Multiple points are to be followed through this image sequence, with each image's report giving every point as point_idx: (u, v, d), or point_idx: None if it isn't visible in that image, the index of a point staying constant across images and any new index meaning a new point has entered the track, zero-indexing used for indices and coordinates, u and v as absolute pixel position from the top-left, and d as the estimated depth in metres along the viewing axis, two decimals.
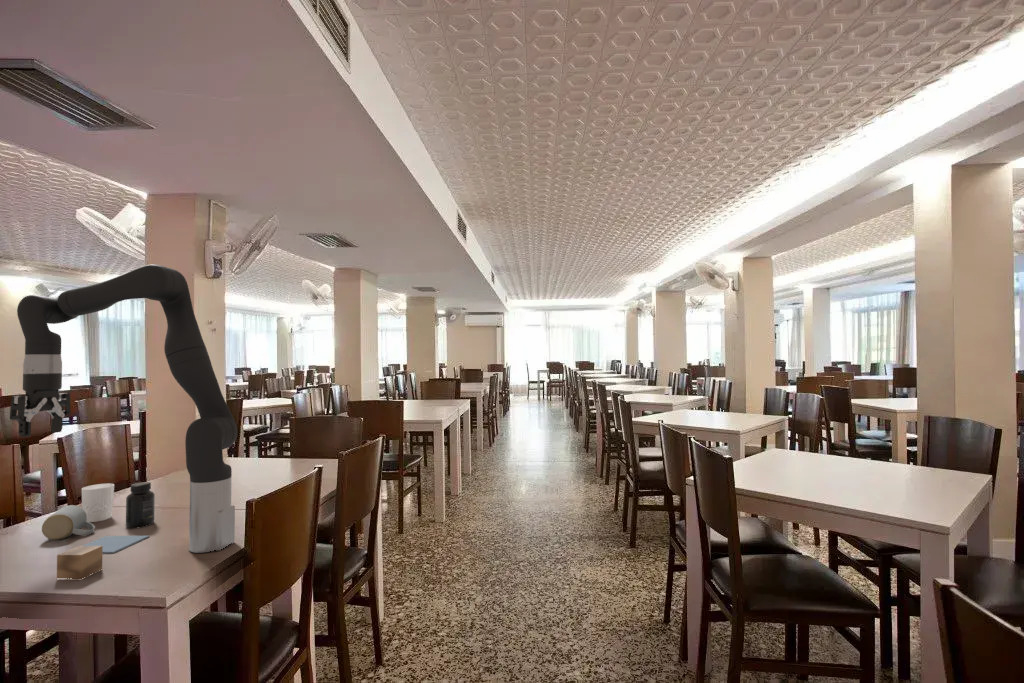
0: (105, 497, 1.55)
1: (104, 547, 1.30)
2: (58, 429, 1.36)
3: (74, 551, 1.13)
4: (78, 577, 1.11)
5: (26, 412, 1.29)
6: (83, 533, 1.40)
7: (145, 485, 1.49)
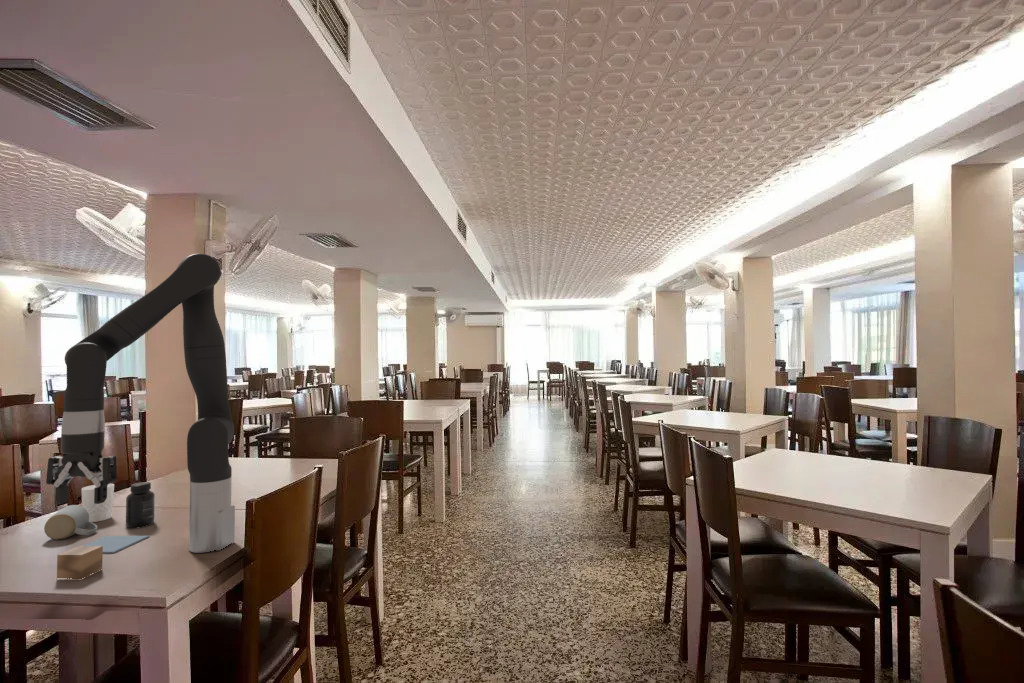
0: None
1: (104, 547, 1.30)
2: (67, 498, 1.15)
3: (74, 551, 1.13)
4: (78, 577, 1.11)
5: (97, 476, 1.14)
6: (85, 533, 1.40)
7: (145, 485, 1.49)
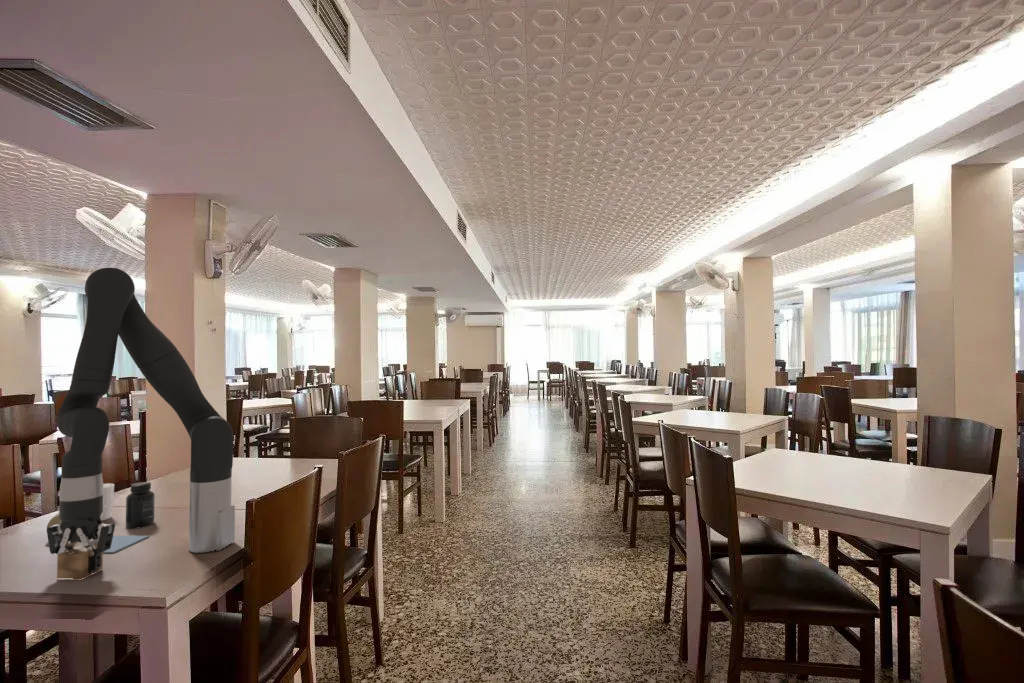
0: (105, 497, 1.55)
1: None
2: None
3: (74, 551, 1.13)
4: (78, 577, 1.11)
5: (93, 543, 1.14)
6: None
7: (145, 485, 1.49)
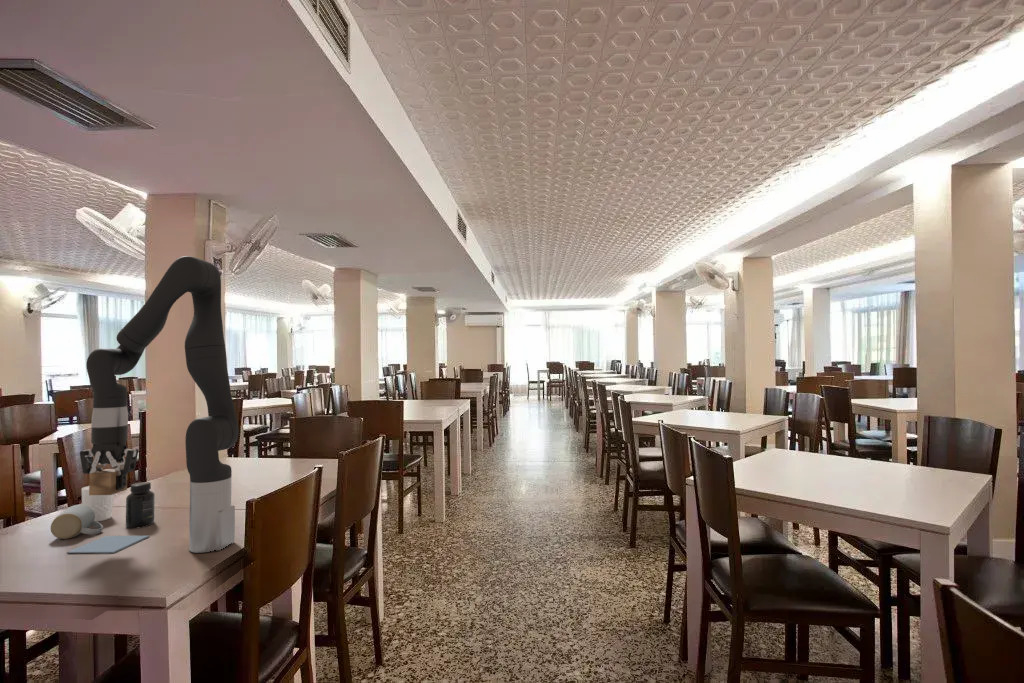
0: (105, 497, 1.55)
1: (104, 547, 1.30)
2: None
3: (104, 471, 1.32)
4: (108, 492, 1.30)
5: (119, 465, 1.33)
6: (91, 532, 1.41)
7: (145, 485, 1.49)
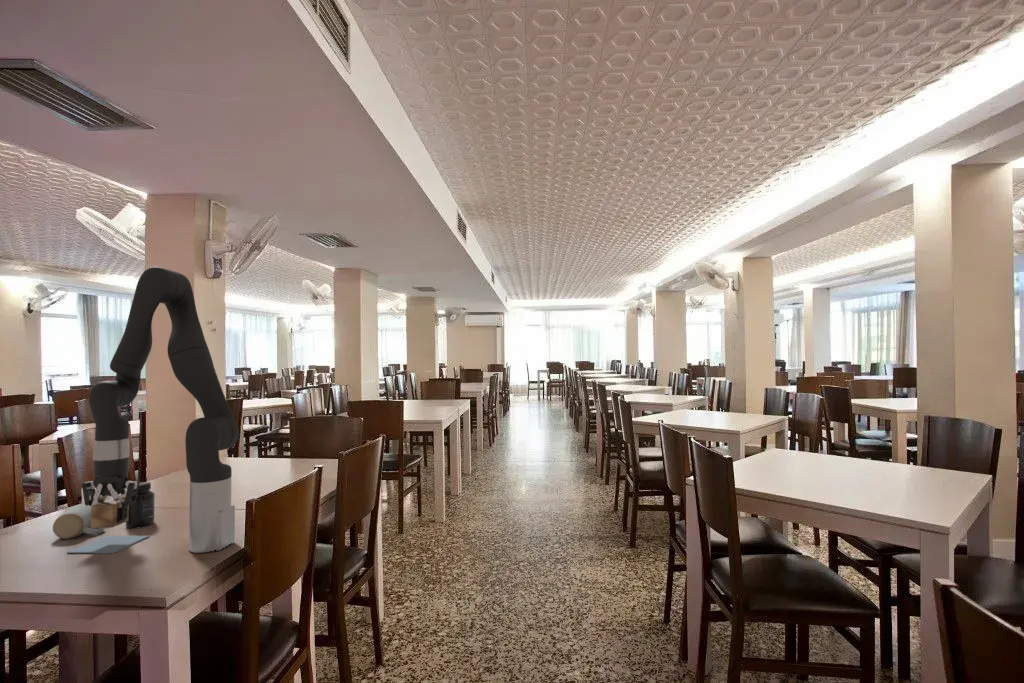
0: None
1: (104, 547, 1.30)
2: None
3: (105, 503, 1.33)
4: (109, 525, 1.30)
5: (121, 497, 1.33)
6: (93, 532, 1.41)
7: (145, 485, 1.49)
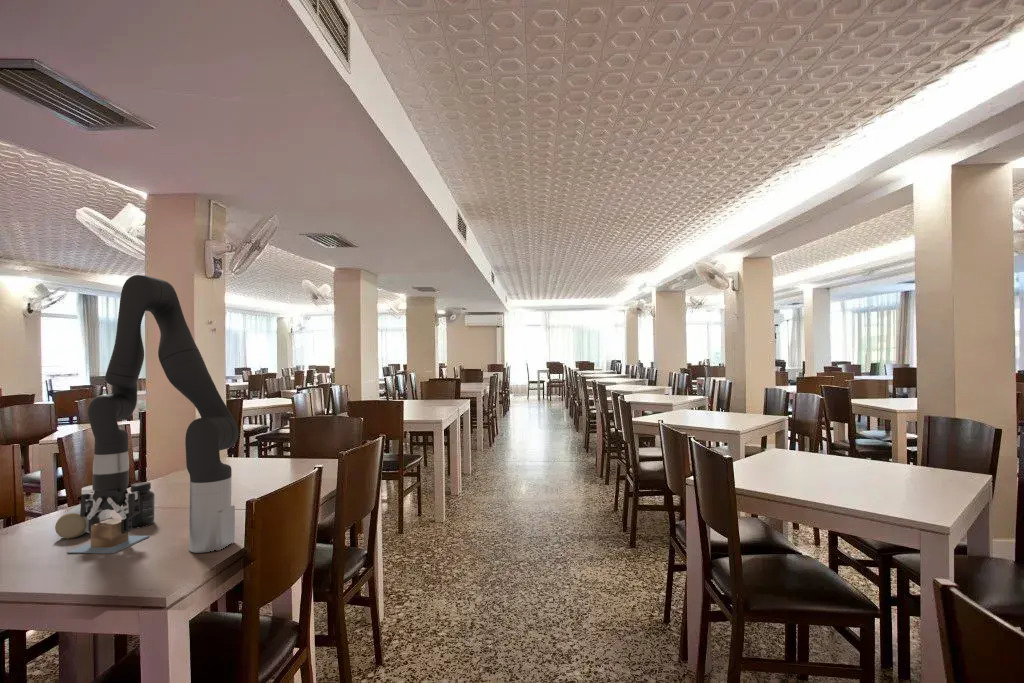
0: None
1: (104, 547, 1.30)
2: None
3: (105, 522, 1.33)
4: (108, 544, 1.30)
5: (123, 509, 1.33)
6: None
7: (145, 485, 1.49)
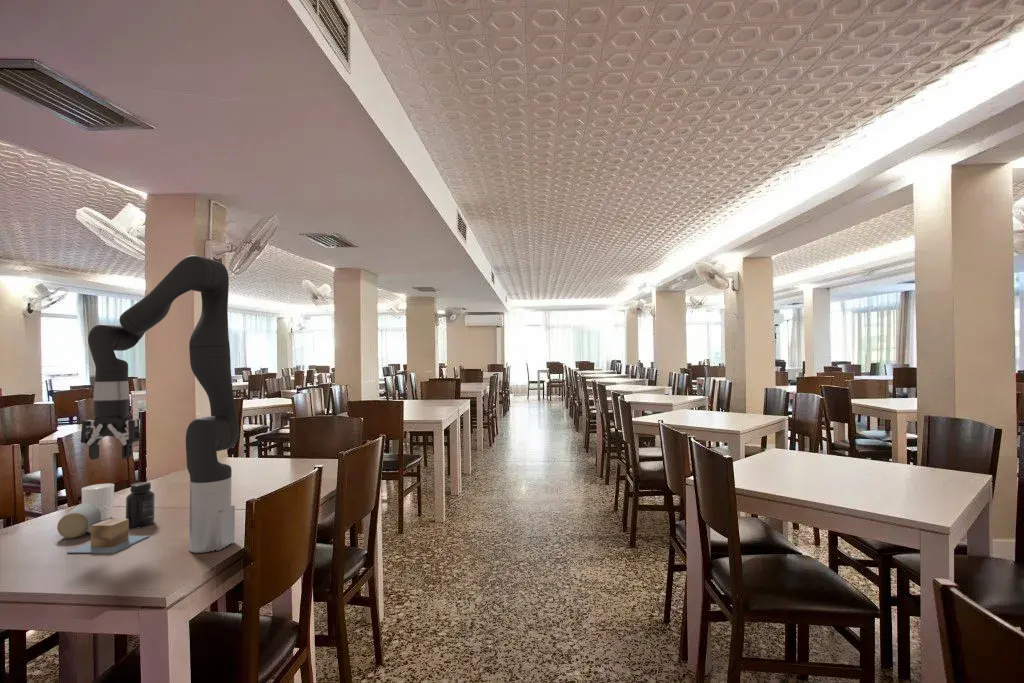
0: (105, 497, 1.55)
1: (104, 547, 1.30)
2: (98, 455, 1.38)
3: (105, 522, 1.33)
4: (108, 544, 1.30)
5: (124, 436, 1.37)
6: None
7: (145, 485, 1.49)
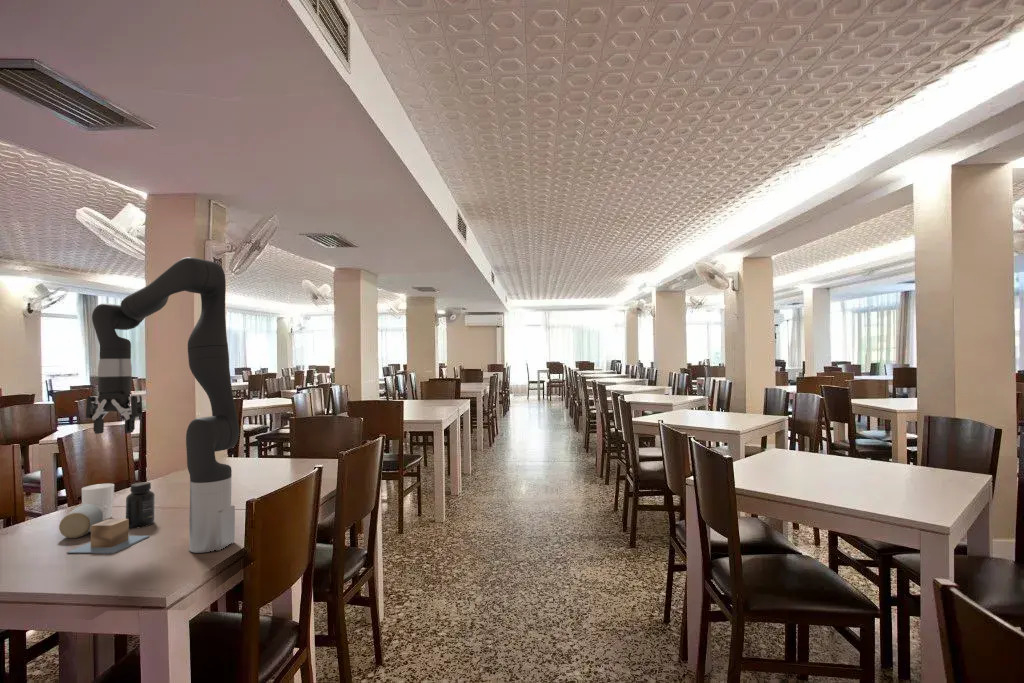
0: (105, 497, 1.55)
1: (104, 547, 1.30)
2: (102, 430, 1.43)
3: (105, 522, 1.33)
4: (108, 544, 1.30)
5: (127, 411, 1.42)
6: None
7: (145, 485, 1.49)
